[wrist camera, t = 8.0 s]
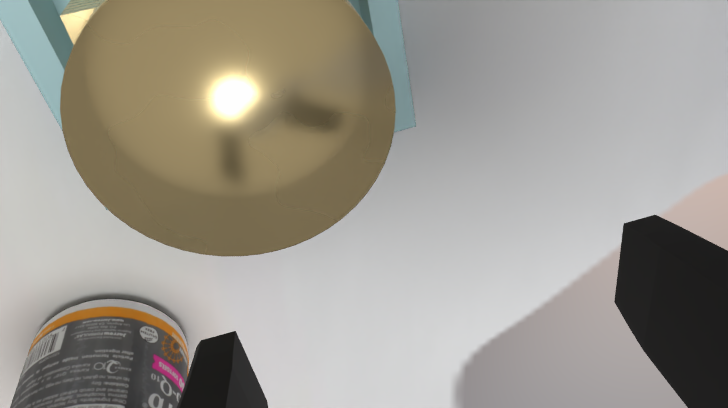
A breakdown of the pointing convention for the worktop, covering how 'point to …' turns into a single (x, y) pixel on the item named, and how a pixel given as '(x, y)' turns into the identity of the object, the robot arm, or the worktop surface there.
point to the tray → (53, 45)
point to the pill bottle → (105, 359)
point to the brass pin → (226, 117)
